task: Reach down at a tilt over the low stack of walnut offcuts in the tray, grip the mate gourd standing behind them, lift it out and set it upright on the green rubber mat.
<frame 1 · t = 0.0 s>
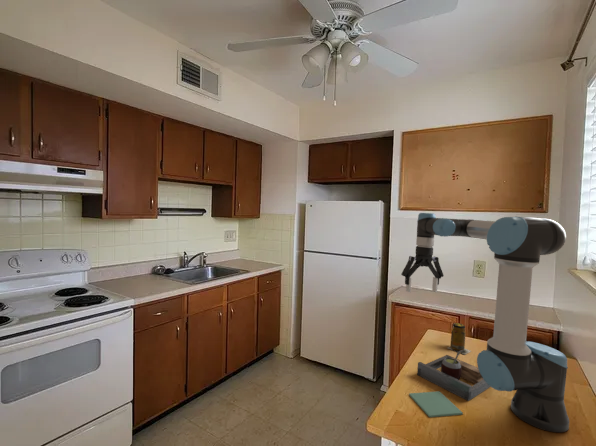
hand: (421, 291, 148), 28 cm above the table, tool pointing down, fingers open, 13 cm apart
condiment: (458, 350, 152), on the table
offcut stack: (463, 375, 128), resting in tray
tray: (456, 378, 125), on the table
green mat: (434, 404, 107), on the table
mate gourd: (451, 382, 123), resting in tray
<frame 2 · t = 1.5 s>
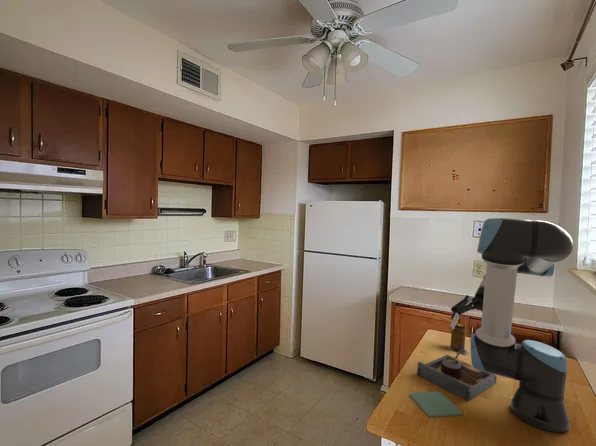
hand: (468, 332, 128), 17 cm above the table, tool tilted 45°, fingers open, 13 cm apart
nothing on the table moved.
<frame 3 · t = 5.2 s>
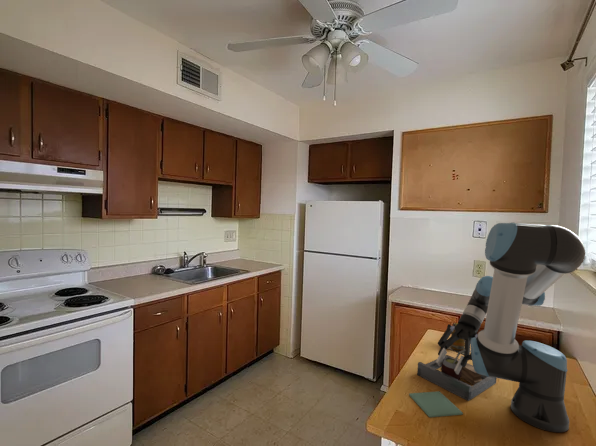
hand: (446, 368, 121), 6 cm above the table, tool tilted 45°, fingers closed on mate gourd, 6 cm apart
mate gourd: (451, 382, 123), resting in tray, touching gripper
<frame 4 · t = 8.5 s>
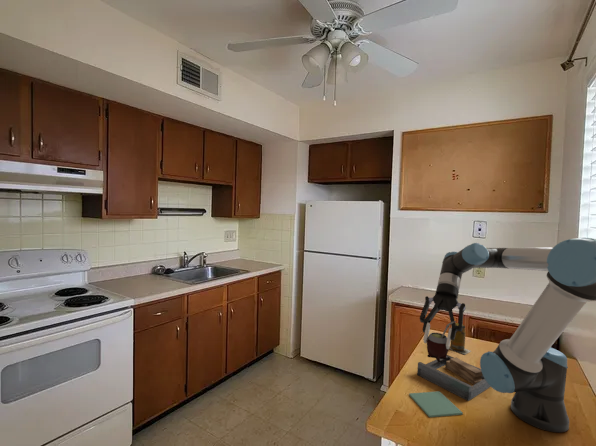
hand: (435, 344, 108), 20 cm above the table, tool tilted 45°, fingers closed on mate gourd, 6 cm apart
offcut stack: (463, 375, 128), resting in tray
mate gourd: (438, 358, 111), point 14 cm above the table, touching gripper
everything else where it was.
when the fingers open (8 cm above the table, at t = 11.6 s): mate gourd moves 1 cm, resting on green mat.
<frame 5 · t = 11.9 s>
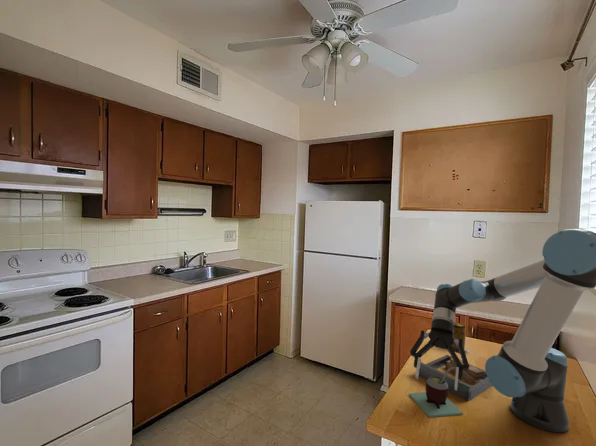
hand: (435, 383, 105), 9 cm above the table, tool tilted 45°, fingers open, 11 cm apart
offcut stack: (463, 375, 128), resting in tray
mate gourd: (437, 404, 107), resting on green mat
everything else where it was.
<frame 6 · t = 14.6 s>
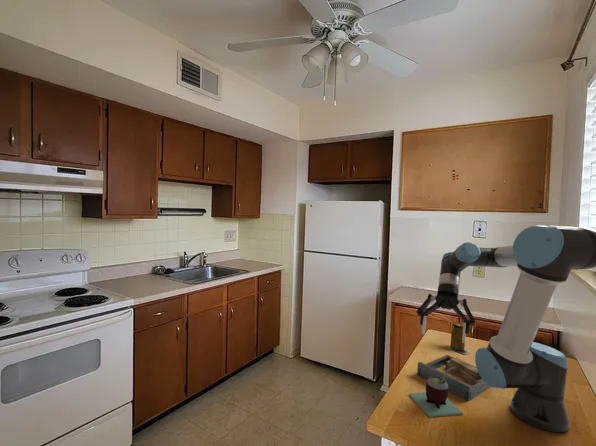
hand: (442, 337, 116), 19 cm above the table, tool tilted 40°, fingers open, 13 cm apart
nothing on the table moved.
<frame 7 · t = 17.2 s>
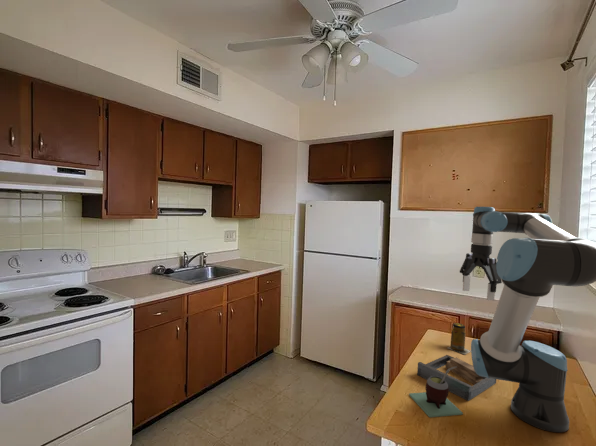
hand: (477, 295, 132), 32 cm above the table, tool pointing down, fingers open, 13 cm apart
nothing on the table moved.
at the end: mate gourd inside the target area on the green mat (0.9 cm from its centre), point 0.4 cm above the green mat's base; mate gourd tilted 0°; the gripper is holding nothing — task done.
